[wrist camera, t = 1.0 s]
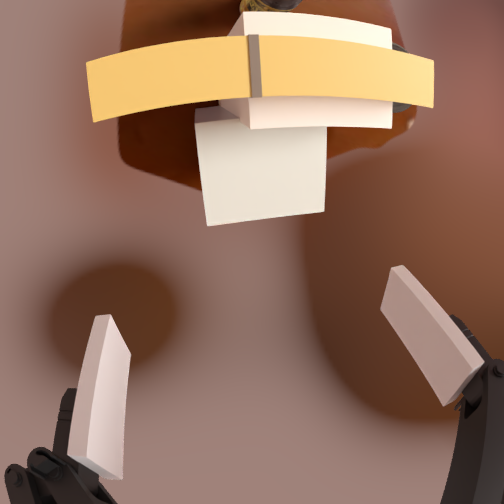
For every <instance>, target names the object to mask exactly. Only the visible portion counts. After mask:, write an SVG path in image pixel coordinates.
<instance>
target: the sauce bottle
mask: <svg viewBox="0 0 504 504" xmlns="http://www.w3.org/2000/svg"><path fill="white" fill-rule="evenodd" d="M301 1H302V0H242V1H241V3H240V5H239V11H240V14H242V13H243V12H286V13H287V12H289V11H290V10H292V9H294V8H295V7H296V6H297V5H298V4H299V3H300V2H301Z"/></svg>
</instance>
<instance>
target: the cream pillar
mask: <svg viewBox="0 0 504 504" xmlns="http://www.w3.org/2000/svg"><path fill="white" fill-rule="evenodd" d="M248 34H259V35H278V36H301V37H314V38H325V39H334V40H341V41H349V42H355V43H361V44H367V45H372V46H378V47H382V48H387V49H392V35H391V29H389V28H385V27H381V26H377V25H372V24H368V23H363V22H358V21H353V20H347V19H341V18H335V17H328V16H320V15H311V14H300V13H286V12H243V13H242V14H241V16H240V17H239V19H238V20H237V22H236V23H235V25H234V26H233V28H232V30H231V31H230V33H229V34H228V36H247V35H248ZM219 106H221V107H223V108H225V109H226V110H228V111H229V112H231V113H232V114H234V115H235V116H237V117H238V118H240V122H241V123H242V124H244V125H245V126H247V127H248V128H249V129H264V128H281V127H310V126H347V127H376V128H392V107H393V102H392V101H384V100H375V99H364V98H351V97H334V96H262V97H259V98H250V97H244V98H231V99H220V100H219Z"/></svg>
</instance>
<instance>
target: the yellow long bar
mask: <svg viewBox="0 0 504 504" xmlns="http://www.w3.org/2000/svg"><path fill="white" fill-rule="evenodd" d="M86 66H87V77H88V86H89V95H90V102H91V110H92V117H93V122H97V121H101V120H105V119H109V118H113V117H118V116H122V115H126V114H131V113H135V112H140V111H145V110H150V109H156V108H161V107H167V106H173V105H180V104H187V103H194V102H202V101H211V100H220V99H231V98H244V97H250V98H259V97H262V96H334V97H351V98H364V99H375V100H384V101H392V102H400V103H407V104H413V105H420V106H425V107H431V108H433V98H434V61H433V60H429V59H426V58H423V57H419V56H416V55H412V54H408V53H404V52H400V51H396V50H392V49H387V48H382V47H378V46H372V45H367V44H361V43H355V42H349V41H341V40H334V39H325V38H314V37H301V36H278V35H259V34H248V35H247V36H226V37H212V38H202V39H193V40H185V41H178V42H171V43H165V44H159V45H154V46H148V47H143V48H139V49H134V50H130V51H125V52H121V53H117V54H114V55H110V56H106V57H103V58H99V59H96V60H92V61H89V62H86Z"/></svg>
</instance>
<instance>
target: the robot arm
mask: <svg viewBox="0 0 504 504" xmlns="http://www.w3.org/2000/svg"><path fill="white" fill-rule="evenodd" d="M381 311H382V312H383V314H384V315H385V317H386V318H387V320H388V321H389V322H390V324H391V325H392V326H393V328H394V330H395V331H396V333H397V334H398V336H399V337H400V338H401V340H402V342H403V343H404V345H405V346H406V347H407V349H408V351H409V352H410V354H411V355H412V357H413V358H414V360H415V361H416V363H417V364H418V366H419V368H420V369H421V371H422V372H423V374H424V375H425V377H426V378H427V380H428V382H429V383H430V385H431V387H432V388H433V390H434V392H435V393H436V395H437V397H438V398H439V400H440V402H441V403H442V405H443V406H445V405H447V404H448V403H450V402H452V401H454V400H455V399H456V398H457V397H458V396H459V395H460V393H461V392H462V393H463V395H464V396H463V398H462V399H461V400H460V401H459V402H458V403H457V405H456V406H455V409H454V410H457V409H458V407H459V406H460V405H461V408H460V409H459V411H460V417H459V425H458V431H457V437H456V443H455V448H454V453H453V458H452V462H451V467H450V471H449V475H448V479H447V482H446V486H445V490H444V493H443V496H442V500H441V503H440V504H504V361H502V360H500V359H494V360H493V359H492V358H491V357H490V356H489V354H488V353H487V352H486V350H485V349H484V348H483V347H482V345H481V344H480V343H479V342H478V340H477V339H476V338H475V337H474V336H473V334H472V333H471V332H470V330H468V328H467V327H466V326H465V324H464V323H463V322H462V321H461V320H460V319H459V318H457V317H455V316H454V315H450V316H448V315H447V314H446V312H445V311H444V310H443V309H442V308H441V307H440V305H439V304H438V303H437V302H436V301H435V300H434V298H433V297H432V296H431V295H430V294H429V293H428V292H427V291H426V289H425V288H424V287H423V286H422V285H421V284H420V283H419V282H418V281H417V280H416V278H415V277H414V276H413V275H412V274H411V273H410V272H409V271H408V270H407V269H406V268H405V267H404V266H403V265H401V266H397V267H392V268H391V271H390V274H389V279H388V282H387V286H386V290H385V294H384V298H383V301H382V305H381ZM130 356H131V354H130V352H129V350H128V348H127V346H126V344H125V342H124V340H123V339H122V337H121V335H120V333H119V331H118V329H117V327H116V325H115V323H114V321H113V319H112V316H111V315H101V316H96V317H95V320H94V324H93V327H92V331H91V335H90V338H89V342H88V345H87V349H86V353H85V357H84V361H83V366H82V370H81V375H80V379H79V384H78V388H77V389H76V388H68V389H67V391H66V392H65V394H64V396H63V397H62V400H61V404H60V412H59V414H58V421H57V426H56V431H55V438H54V444H53V451H52V452H51V451H50V450H48V449H46V448H44V447H38V448H35V449H33V451H31V453H30V454H29V456H28V459H27V466H28V468H26V469H25V468H23V467H22V466H20V465H18V464H11V465H10V466H8V468H7V469H6V471H5V484H6V487H7V491H8V495H9V499H10V502H11V504H117V503H116V501H115V500H114V499H113V498H112V496H111V495H110V494H109V493H108V492H107V490H106V489H105V488H104V486H103V485H102V484H101V483H100V482H99V479H98V478H99V475H100V476H102V477H103V478H105V479H114V480H123V441H124V420H125V406H126V393H127V383H128V373H129V364H130Z"/></svg>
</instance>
